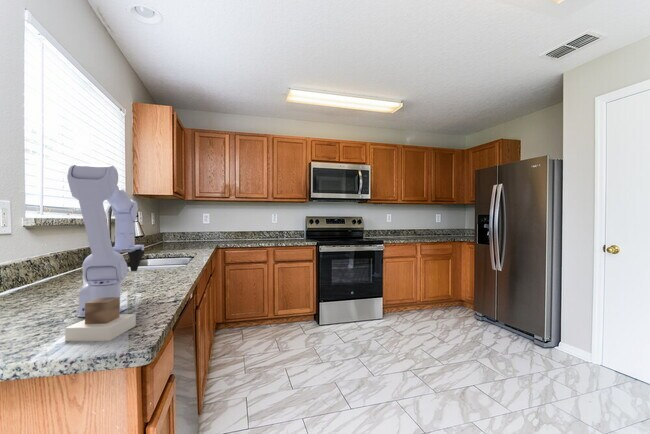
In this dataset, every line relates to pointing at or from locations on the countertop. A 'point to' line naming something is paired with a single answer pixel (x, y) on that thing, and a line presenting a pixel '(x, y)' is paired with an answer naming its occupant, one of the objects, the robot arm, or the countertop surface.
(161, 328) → the countertop surface
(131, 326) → the cream plinth
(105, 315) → the walnut cube
